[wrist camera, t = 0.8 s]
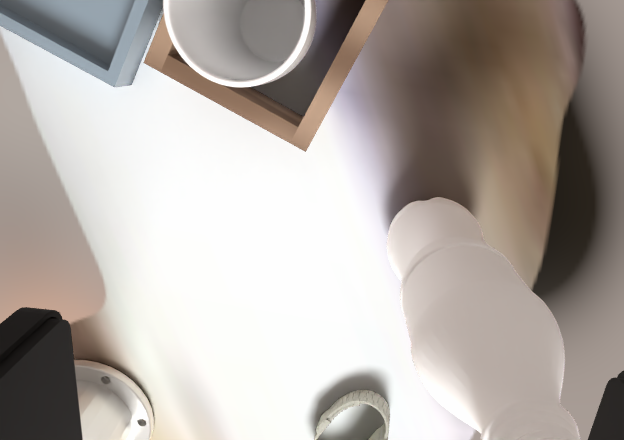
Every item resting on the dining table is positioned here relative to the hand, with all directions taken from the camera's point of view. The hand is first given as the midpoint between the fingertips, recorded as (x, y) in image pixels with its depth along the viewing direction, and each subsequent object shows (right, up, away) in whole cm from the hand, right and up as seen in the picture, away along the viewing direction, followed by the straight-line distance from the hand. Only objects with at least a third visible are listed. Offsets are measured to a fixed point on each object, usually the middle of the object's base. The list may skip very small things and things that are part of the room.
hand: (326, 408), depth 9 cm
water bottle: (+9, +2, +32) cm, 33 cm away
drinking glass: (-3, +17, +27) cm, 32 cm away
